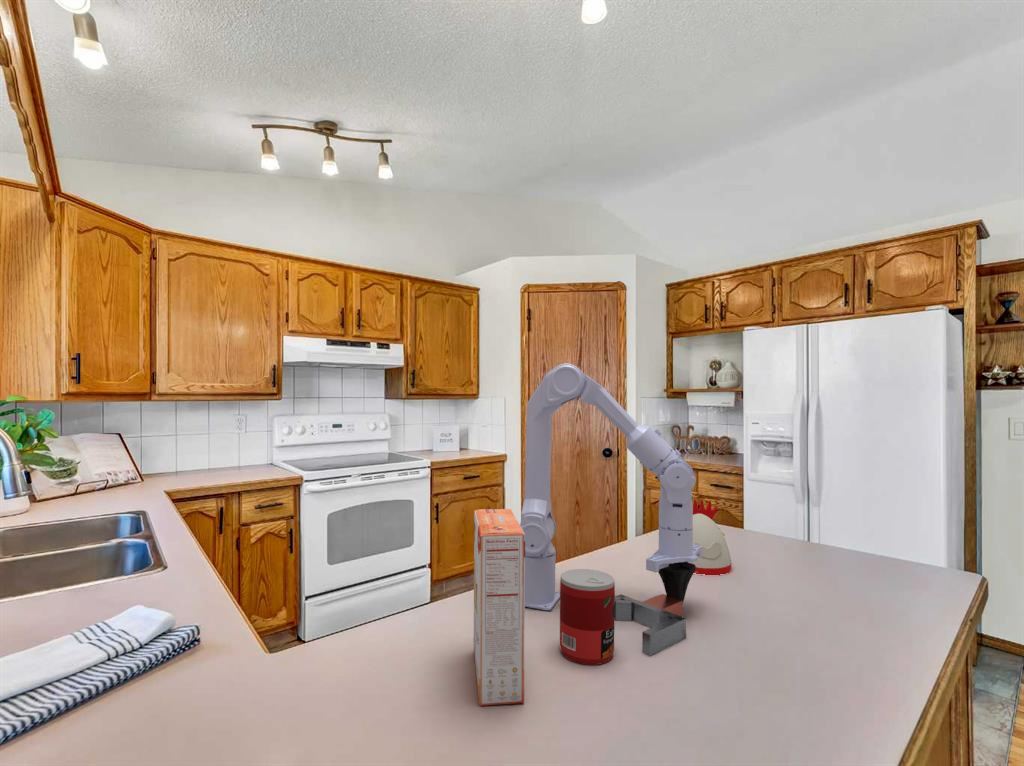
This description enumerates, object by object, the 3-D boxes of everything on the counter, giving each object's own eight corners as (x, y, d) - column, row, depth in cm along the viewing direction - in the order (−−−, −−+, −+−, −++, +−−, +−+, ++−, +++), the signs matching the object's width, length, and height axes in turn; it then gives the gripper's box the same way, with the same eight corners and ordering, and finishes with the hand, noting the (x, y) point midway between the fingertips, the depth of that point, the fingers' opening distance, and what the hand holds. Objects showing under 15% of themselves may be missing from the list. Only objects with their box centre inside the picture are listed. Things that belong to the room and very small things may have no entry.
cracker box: (470, 651, 75) (473, 507, 76) (511, 650, 76) (513, 507, 77) (475, 708, 62) (478, 531, 62) (525, 705, 62) (527, 531, 63)
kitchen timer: (741, 576, 110) (741, 506, 111) (677, 575, 110) (677, 505, 111) (716, 557, 124) (716, 494, 125) (659, 556, 124) (659, 493, 125)
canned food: (614, 669, 71) (614, 588, 72) (556, 662, 73) (557, 583, 73) (614, 643, 79) (614, 570, 79) (562, 638, 80) (563, 566, 81)
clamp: (641, 603, 95) (641, 586, 95) (706, 627, 85) (706, 608, 85) (584, 625, 85) (584, 607, 85) (650, 656, 75) (650, 635, 75)
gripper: (671, 538, 83) (671, 623, 83) (718, 525, 92) (718, 602, 92) (636, 529, 89) (635, 609, 88) (682, 518, 98) (682, 590, 97)
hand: (675, 605), depth 90 cm, fingers closed
